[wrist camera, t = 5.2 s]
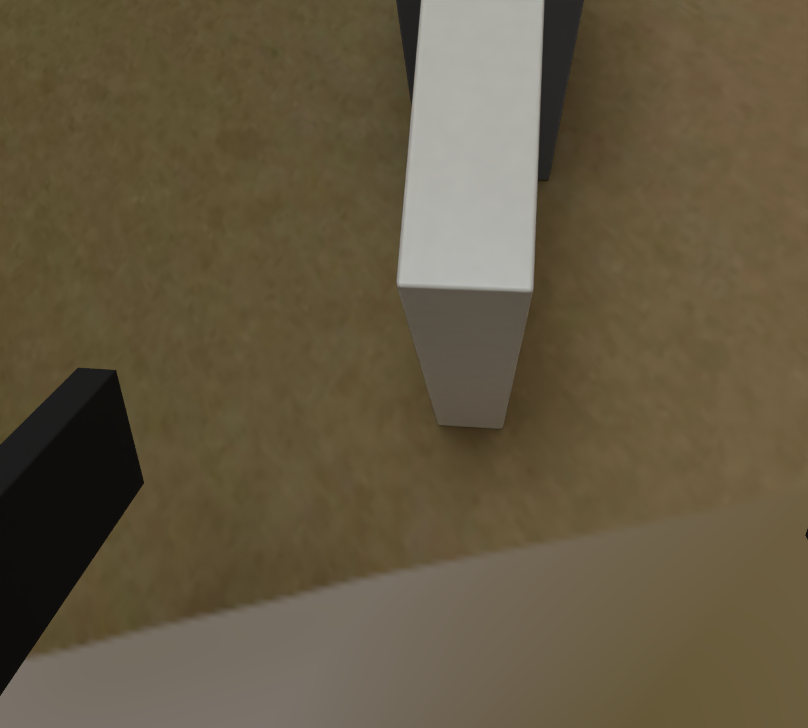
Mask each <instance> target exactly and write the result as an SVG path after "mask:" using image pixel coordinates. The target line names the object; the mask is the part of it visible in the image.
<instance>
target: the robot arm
mask: <svg viewBox="0 0 808 728" xmlns="http://www.w3.org/2000/svg"><path fill="white" fill-rule="evenodd" d="M143 484H144V481H143V477H142V473H141V469H140V465H139V460H138V456H137V452H136V448H135V444H134V440H133V436H132V432H131V428H130V424H129V420H128V416H127V412H126V408H125V404H124V400H123V396H122V392H121V388H120V384H119V380H118V376H117V372H116V370H106V369H90V368H77V369H76V370H75V371H74V372H73V373H72V374H71V375H70V376H69V377H68V378H67V379H66V380H65V381H64V382H63V383H62V384H61V385H60V386H59V387H58V388H57V389H56V390H55V391H54V392H53V393H52V394H51V395H50V396H49V397H48V398H47V399H46V400H45V401H44V402H43V403H42V404H41V405H40V406H39V407H38V408H37V409H36V410H35V411H34V412H33V413H32V414H31V415H30V416H29V417H28V418H27V419H26V420H25V421H24V422H23V423H22V424H21V425H20V426H19V427H18V428H17V429H16V430H15V431H14V432H13V433H12V434H11V435H10V436H9V437H8V438H7V439H6V440H5V441H4V442H3V443H2V444H1V445H0V695H1V694H2V692H3V691H4V690H5V688H6V687H7V685H8V684H9V682H10V681H11V679H12V678H13V676H14V675H15V673H16V672H17V670H18V669H19V667H20V666H21V664H22V663H23V661H24V660H25V658H26V657H27V655H28V654H29V653H30V651H31V650H32V648H33V647H34V645H35V644H36V642H37V641H38V639H39V638H40V636H41V635H42V633H43V632H44V630H45V629H46V627H47V626H48V624H49V623H50V621H51V620H52V618H53V617H54V616H55V614H56V613H57V611H58V610H59V608H60V607H61V605H62V604H63V602H64V601H65V599H66V598H67V596H68V595H69V593H70V592H71V590H72V589H73V587H74V586H75V584H76V583H77V581H78V580H79V579H80V577H81V576H82V574H83V573H84V571H85V570H86V568H87V567H88V565H89V564H90V562H91V561H92V559H93V558H94V556H95V555H96V553H97V552H98V550H99V549H100V547H101V546H102V544H103V543H104V541H105V540H106V539H107V537H108V536H109V534H110V533H111V531H112V530H113V528H114V527H115V525H116V524H117V522H118V521H119V519H120V518H121V516H122V515H123V513H124V512H125V510H126V509H127V507H128V506H129V504H130V503H131V502H132V500H133V499H134V497H135V496H136V494H137V493H138V491H139V490H140V488H141V487H142V485H143ZM806 537H807V539H808V529H807V532H806Z"/></svg>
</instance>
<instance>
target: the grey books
mask: <svg viewBox="0 0 808 728" xmlns="http://www.w3.org/2000/svg"><path fill="white" fill-rule="evenodd" d="M396 2H397V9H398V16H399V23H400V30H401V37H402V44H403V51H404V58H405V65H406V72H407V79H408V85H409V92H410V99H411V106H412V98H413V86H414V75H415V63H416V52H417V40H418V29H419V18H420V6H421V0H396ZM583 3H584V0H544V27H543V53H542V80H541V106H540V133H539V159H538V180H548V179H549V176H550V171H551V166H552V160H553V155H554V150H555V145H556V140H557V135H558V130H559V125H560V120H561V115H562V109H563V104H564V99H565V94H566V89H567V84H568V79H569V74H570V69H571V64H572V59H573V53H574V48H575V43H576V38H577V33H578V28H579V23H580V18H581V13H582V8H583Z"/></svg>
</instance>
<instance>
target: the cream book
mask: <svg viewBox="0 0 808 728" xmlns="http://www.w3.org/2000/svg"><path fill="white" fill-rule="evenodd" d="M543 27H544V0H421V6H420V18H419V29H418V40H417V52H416V63H415V75H414V86H413V98H412V109H411V120H410V132H409V143H408V155H407V166H406V178H405V189H404V200H403V212H402V223H401V235H400V246H399V258H398V269H397V280H396V284H397V288H398V291H399V295H400V298H401V301H402V305H403V308H404V311H405V315H406V318H407V322H408V325H409V328H410V332H411V335H412V338H413V342H414V345H415V349H416V352H417V355H418V359H419V362H420V365H421V369H422V372H423V376H424V379H425V382H426V386H427V389H428V392H429V396H430V399H431V403H432V406H433V409H434V413H435V416H436V420H437V423H438V425H447V426H462V427H478V428H494V429H502V428H503V426H504V421H505V417H506V412H507V407H508V403H509V398H510V394H511V389H512V385H513V380H514V376H515V371H516V367H517V362H518V358H519V353H520V349H521V344H522V340H523V335H524V330H525V326H526V321H527V317H528V312H529V308H530V303H531V299H532V294H533V290H534V266H535V239H536V213H537V186H538V159H539V133H540V106H541V80H542V53H543Z"/></svg>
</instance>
